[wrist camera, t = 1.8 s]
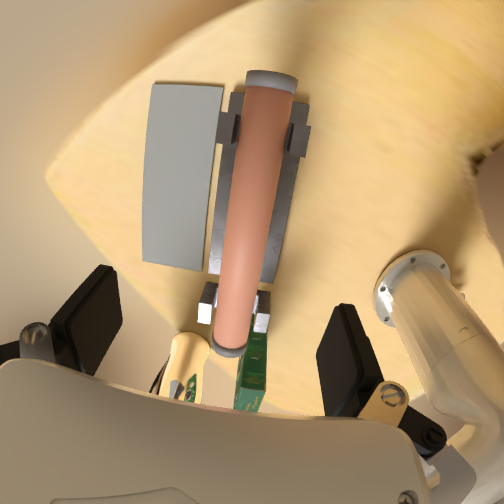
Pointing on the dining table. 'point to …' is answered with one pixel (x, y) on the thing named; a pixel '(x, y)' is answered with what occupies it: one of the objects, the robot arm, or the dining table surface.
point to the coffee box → (252, 372)
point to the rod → (251, 204)
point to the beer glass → (183, 369)
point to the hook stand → (290, 160)
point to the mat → (178, 173)
